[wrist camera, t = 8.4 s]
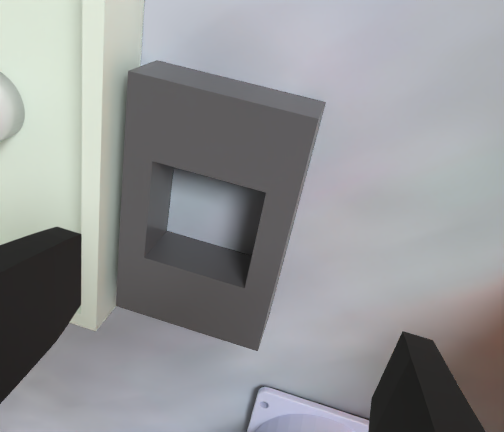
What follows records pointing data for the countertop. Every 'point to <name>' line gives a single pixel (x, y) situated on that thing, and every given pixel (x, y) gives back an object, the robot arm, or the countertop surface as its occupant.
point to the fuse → (10, 109)
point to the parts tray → (70, 130)
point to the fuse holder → (215, 166)
